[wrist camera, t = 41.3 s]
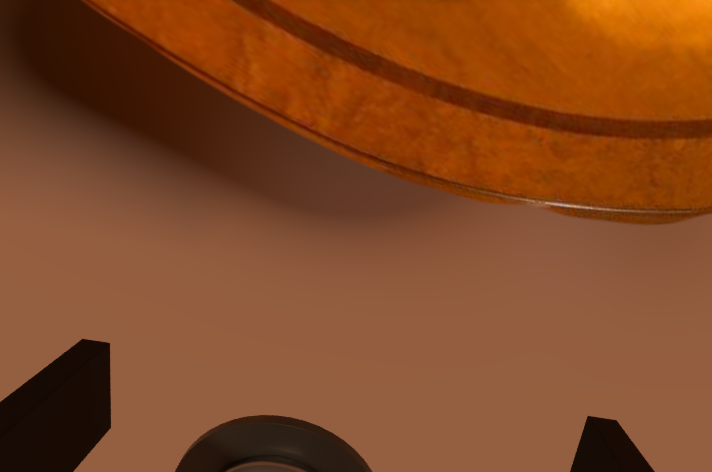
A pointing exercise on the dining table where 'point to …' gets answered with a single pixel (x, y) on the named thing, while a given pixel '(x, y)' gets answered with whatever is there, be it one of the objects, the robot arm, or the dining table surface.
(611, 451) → the robot arm
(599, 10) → the dining table surface
